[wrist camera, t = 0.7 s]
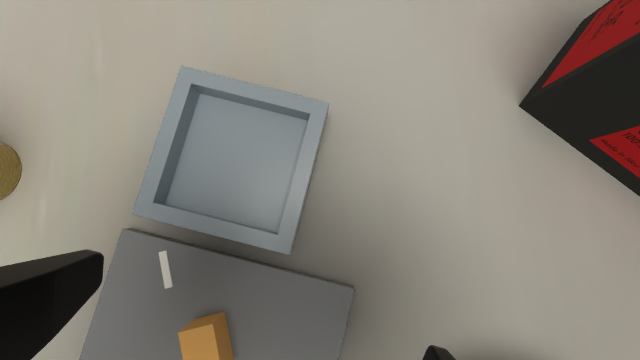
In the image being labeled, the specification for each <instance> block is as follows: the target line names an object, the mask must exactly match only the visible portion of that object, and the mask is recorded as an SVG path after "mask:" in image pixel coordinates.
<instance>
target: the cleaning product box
mask: <svg viewBox="0 0 640 360" xmlns="http://www.w3.org/2000/svg"><path fill="white" fill-rule="evenodd" d="M519 107H521V108H522V109H523V110H525V111H526V112H527V113H529V114H530V115H531V116H533V117H534V118H535V119H537V120H538V121H539V122H541V123H542V124H543V125H545V126H546V127H548V128H549V129H550V130H552V131H553V132H554V133H556V134H557V135H558V136H560V137H561V138H562V139H564V140H565V141H566V142H568V143H569V144H570V145H572V146H573V147H574V148H576V149H577V150H578V151H580V152H581V153H582V154H584V155H585V156H586V157H588V158H589V159H590V160H592V161H593V162H594V163H596V164H597V165H598V166H600V167H601V168H602V169H604V170H605V171H606V172H608V173H609V174H610V175H612V176H613V177H614V178H616V179H617V180H619V181H620V182H621V183H623V184H624V185H625V186H627V187H628V188H629V189H631V190H632V191H633V192H635V193H636V194H637V195H639V196H640V0H610V1H609V2H607V3H606V4H605V5H603V6H602V7H601V8H599V9H598V10H596V11H595V12H594V13H592V14H591V15H590V16H588V17H587V18H586V19H584V20H583V21H582V22H581V24H580V25H579V26H578V28H577V29H576V30H575V32H574V33H573V34H572V36H571V37H570V38H569V40H568V41H567V42H566V44H565V45H564V46H563V48H562V49H561V50H560V51H559V53H558V54H557V55H556V57H555V58H554V59H553V61H552V62H551V63H550V65H549V66H548V67H547V69H546V70H545V71H544V73H543V74H542V75H541V77H540V78H539V79H538V81H537V82H536V83H535V85H534V86H533V87H532V89H531V90H530V91H529V93H528V94H527V95H526V97H525V98H524V99H523V101H522V102H521V103H520V105H519Z"/></svg>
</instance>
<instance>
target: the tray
mask: <svg viewBox="0 0 640 360" xmlns="http://www.w3.org/2000/svg"><path fill="white" fill-rule="evenodd" d="M328 107H329V103H328V102H324V101H320V100H316V99H312V98H308V97H304V96H300V95H296V94H292V93H288V92H284V91H280V90H276V89H272V88H268V87H264V86H260V85H256V84H252V83H248V82H244V81H241V80H237V79H233V78H229V77H225V76H221V75H217V74H213V73H209V72H205V71H201V70H197V69H193V68H189V67H185V66H181V67H180V70H179V73H178V76H177V79H176V82H175V85H174V88H173V91H172V94H171V97H170V100H169V103H168V107H167V110H166V113H165V116H164V119H163V122H162V125H161V128H160V131H159V134H158V137H157V140H156V143H155V146H154V149H153V152H152V155H151V158H150V161H149V164H148V167H147V170H146V173H145V176H144V179H143V182H142V185H141V188H140V191H139V194H138V197H137V200H136V203H135V207H134V210H133V213H132V214H133V215H136V216H140V217H144V218H148V219H152V220H156V221H160V222H163V223H167V224H171V225H175V226H179V227H183V228H187V229H190V230H194V231H198V232H202V233H206V234H210V235H214V236H217V237H221V238H225V239H229V240H233V241H237V242H241V243H244V244H248V245H252V246H256V247H260V248H264V249H268V250H271V251H275V252H279V253H283V254H287V255H290V253H291V252H292V249H293V246H294V242H295V238H296V234H297V230H298V226H299V223H300V219H301V215H302V211H303V207H304V203H305V200H306V196H307V192H308V188H309V184H310V180H311V177H312V173H313V169H314V165H315V161H316V158H317V154H318V150H319V146H320V142H321V138H322V135H323V131H324V127H325V123H326V119H327V115H328Z"/></svg>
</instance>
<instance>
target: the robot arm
mask: <svg viewBox="0 0 640 360" xmlns="http://www.w3.org/2000/svg"><path fill="white" fill-rule="evenodd" d="M103 264H104V257H103V255H102V254H101V253H99V252H95V251H92V250H81V251H76V252H71V253H66V254H61V255H56V256H51V257H46V258H41V259H36V260H31V261H26V262H22V263H17V264H12V265H7V266H2V267H0V360H31V359H32V358H33V357H34V356H35V355H36V354H37V353H38V352H39V351H41V350H42V349H43V348H44V347H45V346H46V345H47V344H48V343H49V342H50V341H51V340H52V339H53V338H54V337H55V336H56V335H57V334H58V333H59V332H60V330H61V329H62V328H63V327H64V326H65V325H66V324H67V323H68V322H69V320H70V319H71V318H72V317H73V316H74V315H75V314H76V313H77V312H78V310H79V309H80V308H81V307H82V306H83V305H84V304H85V303H86V302H87V300H88V299H89V298H90V297H91V296H92V295H93V294H94V293H95V292H96V290H97V289H98V288H99V286H100V285H101V282H102V278H103ZM423 360H456V359H455V358H454V357H453V356H452V355H451V354H450V353H449V352H448V351H447V350H446V349H444V348H441V347H437V346H434V345H431V346H429V347H428V348H427V350H426V353H425V355H424V358H423Z"/></svg>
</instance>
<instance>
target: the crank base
mask: <svg viewBox="0 0 640 360" xmlns="http://www.w3.org/2000/svg"><path fill="white" fill-rule="evenodd" d="M354 291H355V288H354V287H353V286H349V285H345V284H342V283H338V282H334V281H330V280H326V279H322V278H318V277H315V276H311V275H307V274H303V273H299V272H295V271H291V270H288V269H284V268H280V267H276V266H272V265H268V264H265V263H261V262H257V261H253V260H249V259H245V258H241V257H238V256H234V255H230V254H226V253H222V252H218V251H214V250H211V249H207V248H203V247H199V246H195V245H191V244H188V243H184V242H180V241H176V240H172V239H168V238H164V237H161V236H157V235H153V234H149V233H145V232H141V231H137V230H134V229H130V228H129V229H122V232H121V235H120V238H119V241H118V244H117V247H116V250H115V253H114V256H113V259H112V262H111V265H110V268H109V271H108V274H107V277H106V280H105V283H104V286H103V289H102V292H101V295H100V298H99V301H98V304H97V307H96V310H95V313H94V316H93V319H92V322H91V325H90V328H89V331H88V334H87V337H86V340H85V343H84V346H83V349H82V352H81V355H80V358H79V360H339V356H340V351H341V347H342V343H343V339H344V334H345V330H346V326H347V321H348V317H349V313H350V308H351V304H352V300H353V296H354Z"/></svg>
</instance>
